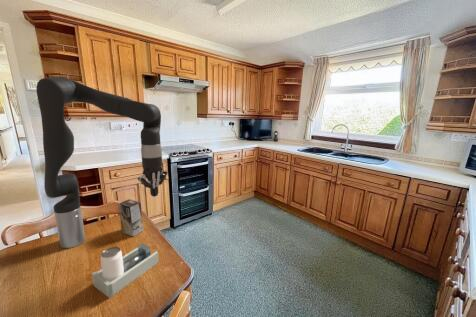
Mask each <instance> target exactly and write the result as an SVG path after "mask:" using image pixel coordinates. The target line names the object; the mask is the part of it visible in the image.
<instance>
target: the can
mask: <svg viewBox="0 0 476 317" xmlns="http://www.w3.org/2000/svg"><path fill="white" fill-rule="evenodd" d="M100 255H101V257H100V266H101V269H102V274H103V277H104V278H105V279H106V280H108V281H109V282H112V281H113V280H115V279H116V278H118V277H119V276H121V275H122V274H124V266H123V252H122V250H121V248H120V247H118V246H111V247H109V248H106V249H105V250H103V251H102V253H101V254H100Z"/></svg>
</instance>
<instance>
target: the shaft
mask: <svg viewBox="0 0 476 317" xmlns="http://www.w3.org/2000/svg"><path fill="white" fill-rule="evenodd" d="M137 248H138V254H137V255H135V256H133V257H132V258H130V259H129V260H127V261H125V262H124V263H123V266H124V273H125V272H127V271H128V270H129V269H131V268H132V267H134V266H135V265H137V264H138V263H140V262H141V261H143V260H144V259H146V258H147V257H149V256H150V255H152V254H151V247H150V246H148V245H146V244H145V243H141V244H139V245H137Z"/></svg>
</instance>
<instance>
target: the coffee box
mask: <svg viewBox="0 0 476 317" xmlns="http://www.w3.org/2000/svg"><path fill="white" fill-rule="evenodd" d="M118 210H119V220H120V226H121V233H123V234H126V235H127V236H131V237H135V236H136V235H139V234H140V233H142V232H143V231H144V228H143V227H144V225H143V215H142V203H141V202H140V201H136V200H132V199H126V200H124V201H122V202H119V203H118Z"/></svg>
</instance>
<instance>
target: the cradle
mask: <svg viewBox="0 0 476 317" xmlns="http://www.w3.org/2000/svg"><path fill="white" fill-rule="evenodd" d="M137 254H138V247H136V248H135V249H132V250H131V251H129V252H128V253H126V254H125V255H122V257H123V263H124V262H125V261H127V260H129V259H130V258H132V257H133V256H135V255H137ZM159 260H160V258H159V252H158V251H154V253H152V254H151V255H150V256H149V257H147V258H146V259H144V260H143V261H141V262H140V263H138V264H137V265H135V266H134V267H132V268H131V269H129V270H128V271H127V272H125V273H124V274H122V275H121V276H119V277H118V278H116V279H115V280H113V281H112V282H109V281H108V280H106V279H105V278H104V277H103V274H102V268H101V269H99V270H98V271H94V272H92V273H91V278H92V283H93V286H94V287H95V289H97V290H99V292H101V293H103V295H105V296H106V297H107V298H108V299H110V298H112V297H114V296H115V295H116V294H117V293H119V292H120V291H122V290H123V289H124V288H125V287H127V286H129V285H130V284H131V283H132V282H133V281H135V280H136V279H138V278H139V277H141V275H143V274H144V273H146V272H147V271H149V270H150V269H151V268H153V267H155V265H157V264H159V262H160V261H159Z"/></svg>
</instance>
